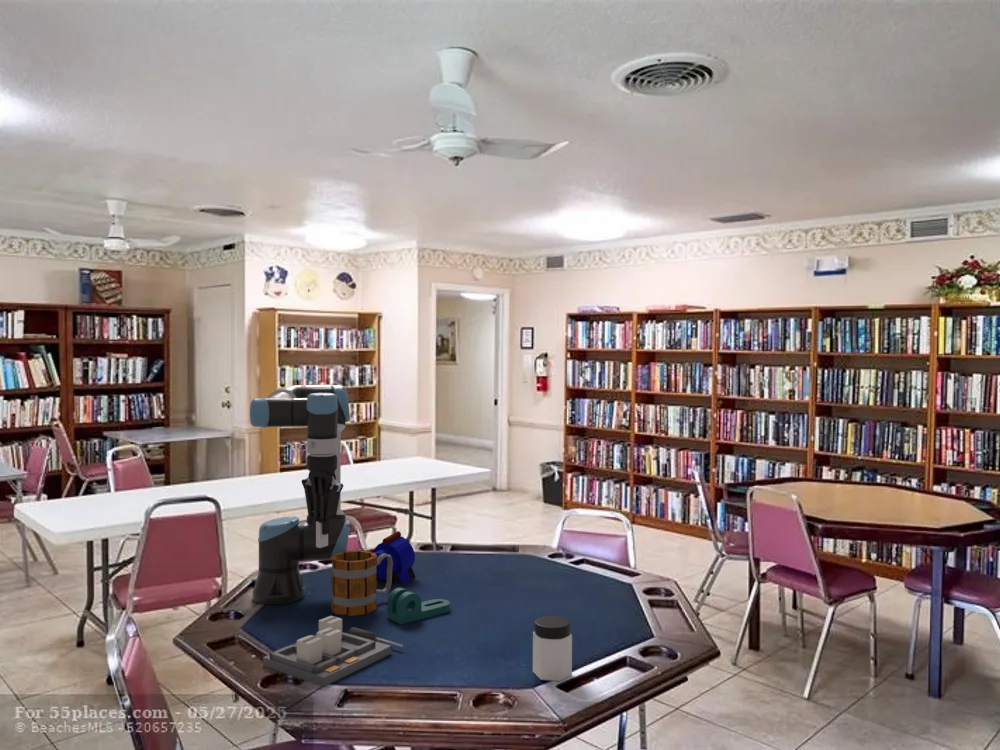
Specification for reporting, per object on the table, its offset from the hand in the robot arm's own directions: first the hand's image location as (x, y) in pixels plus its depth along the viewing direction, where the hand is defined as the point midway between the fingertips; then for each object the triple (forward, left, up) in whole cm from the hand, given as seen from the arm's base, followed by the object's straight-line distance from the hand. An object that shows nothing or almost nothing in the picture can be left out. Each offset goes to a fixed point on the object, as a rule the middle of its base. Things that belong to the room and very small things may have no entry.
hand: (322, 546), depth 190 cm
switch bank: (+11, -8, -24) cm, 28 cm away
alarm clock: (-21, +50, -24) cm, 59 cm away
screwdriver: (+14, +6, -24) cm, 28 cm away
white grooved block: (+12, -9, -22) cm, 26 cm away
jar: (+59, +15, -24) cm, 65 cm away
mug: (-10, +25, -24) cm, 36 cm away
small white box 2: (+7, -3, -22) cm, 23 cm away
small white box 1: (+12, -15, -22) cm, 29 cm away
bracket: (+9, +29, -24) cm, 39 cm away
